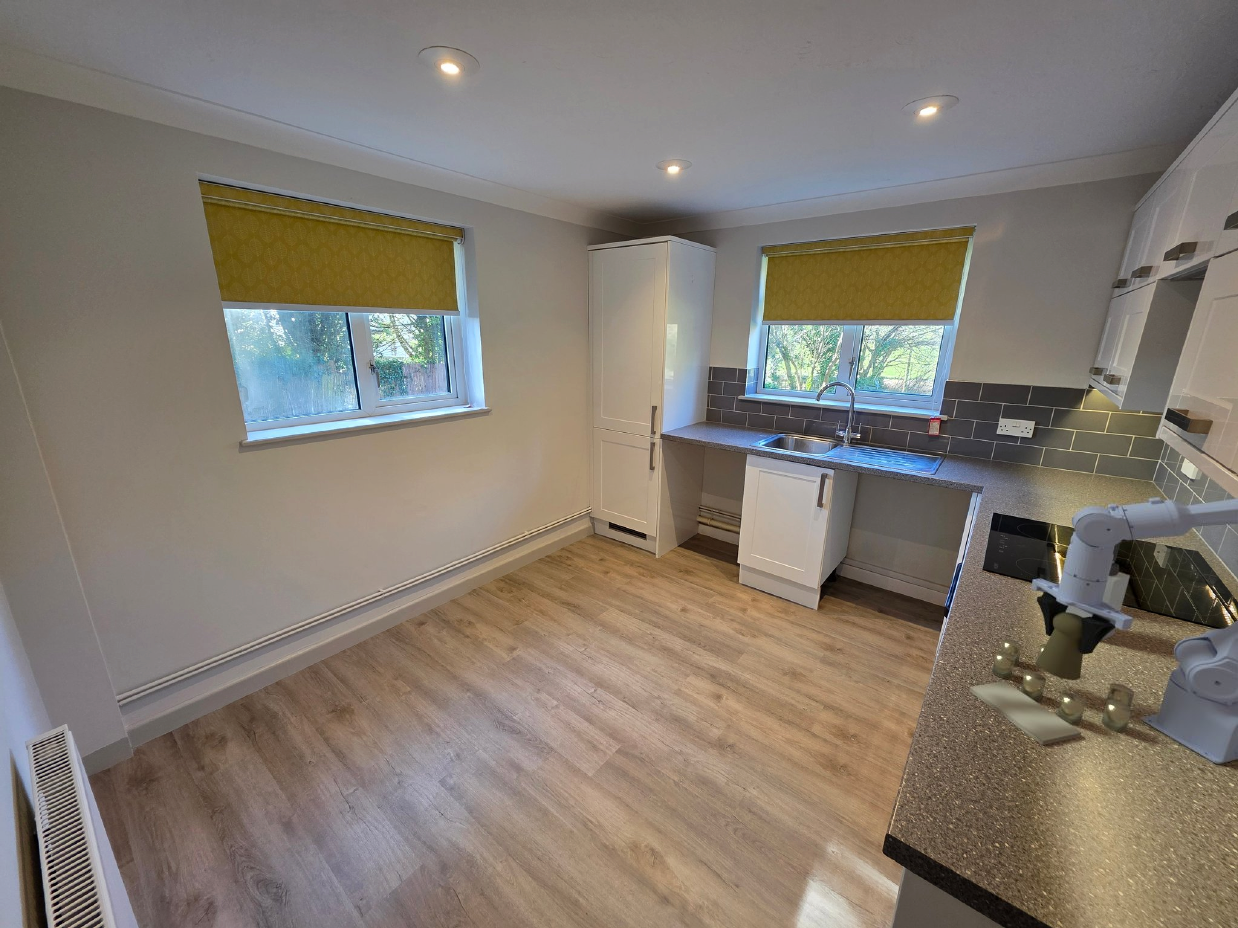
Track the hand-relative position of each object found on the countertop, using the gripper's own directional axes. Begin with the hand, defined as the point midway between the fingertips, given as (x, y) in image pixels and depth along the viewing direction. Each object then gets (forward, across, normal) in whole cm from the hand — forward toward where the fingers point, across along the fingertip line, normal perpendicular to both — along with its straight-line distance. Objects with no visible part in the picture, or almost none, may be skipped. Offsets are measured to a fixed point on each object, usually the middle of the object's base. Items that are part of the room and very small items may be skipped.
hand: (1068, 643), depth 88 cm
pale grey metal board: (+10, +3, -12) cm, 16 cm away
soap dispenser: (+10, -15, +28) cm, 33 cm away
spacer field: (+10, 0, 0) cm, 10 cm away
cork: (+6, 0, 0) cm, 6 cm away
